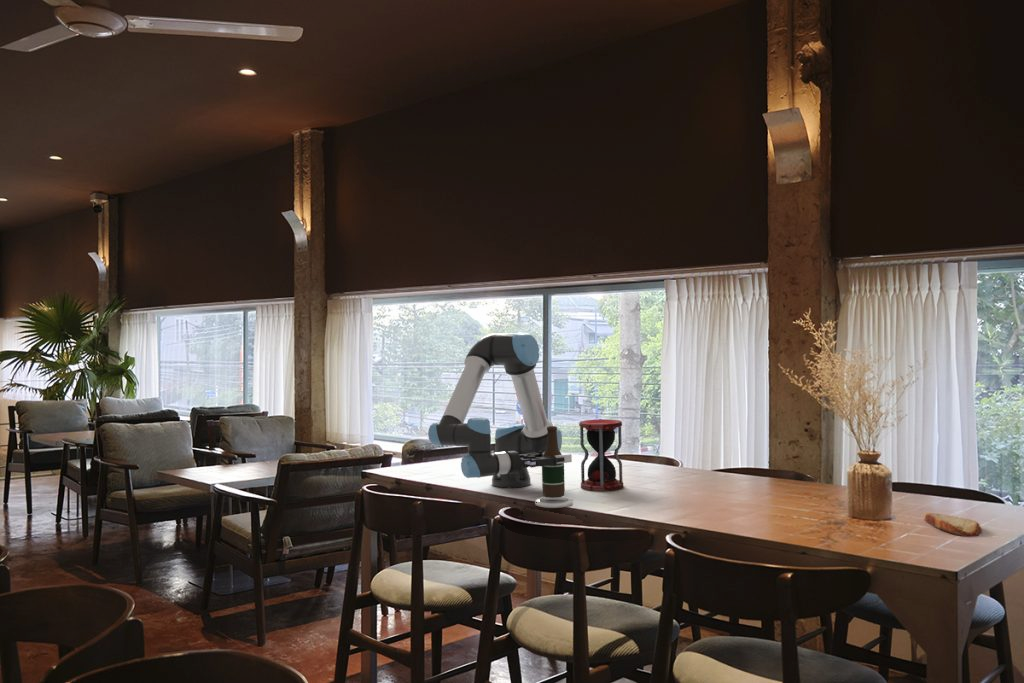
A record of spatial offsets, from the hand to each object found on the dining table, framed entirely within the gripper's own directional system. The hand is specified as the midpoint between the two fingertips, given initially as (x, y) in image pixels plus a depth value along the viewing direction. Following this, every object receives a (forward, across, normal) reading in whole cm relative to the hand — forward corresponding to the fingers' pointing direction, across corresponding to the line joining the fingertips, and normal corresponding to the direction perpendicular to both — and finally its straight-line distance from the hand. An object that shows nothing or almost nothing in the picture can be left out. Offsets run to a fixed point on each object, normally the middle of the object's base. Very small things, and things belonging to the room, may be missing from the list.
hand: (564, 456), depth 287 cm
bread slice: (+77, +91, -16) cm, 120 cm away
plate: (-5, 0, -16) cm, 17 cm away
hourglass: (+25, -15, -16) cm, 33 cm away
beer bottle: (-5, 0, -13) cm, 14 cm away
